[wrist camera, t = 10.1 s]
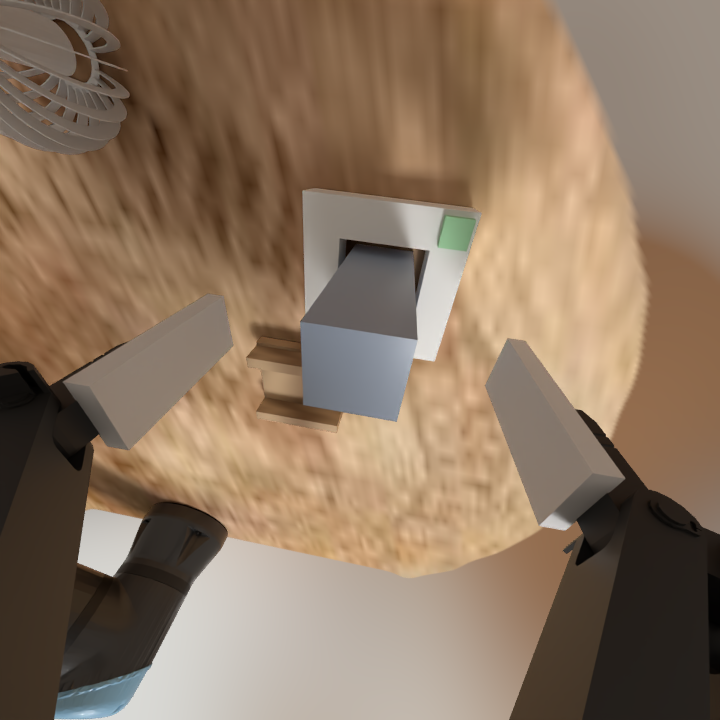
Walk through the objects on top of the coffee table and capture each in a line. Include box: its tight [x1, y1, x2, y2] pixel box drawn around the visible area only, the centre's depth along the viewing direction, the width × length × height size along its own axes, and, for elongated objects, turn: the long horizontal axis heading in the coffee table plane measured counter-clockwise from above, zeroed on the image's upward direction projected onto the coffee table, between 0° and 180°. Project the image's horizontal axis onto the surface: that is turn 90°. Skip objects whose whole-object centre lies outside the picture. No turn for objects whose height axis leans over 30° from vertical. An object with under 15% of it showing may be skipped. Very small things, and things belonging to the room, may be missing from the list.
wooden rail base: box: [246, 337, 343, 433], centre depth 26 cm, size 8×8×3 cm
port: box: [302, 188, 482, 361], centre depth 19 cm, size 10×10×3 cm
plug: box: [300, 244, 418, 422], centre depth 15 cm, size 4×4×12 cm
